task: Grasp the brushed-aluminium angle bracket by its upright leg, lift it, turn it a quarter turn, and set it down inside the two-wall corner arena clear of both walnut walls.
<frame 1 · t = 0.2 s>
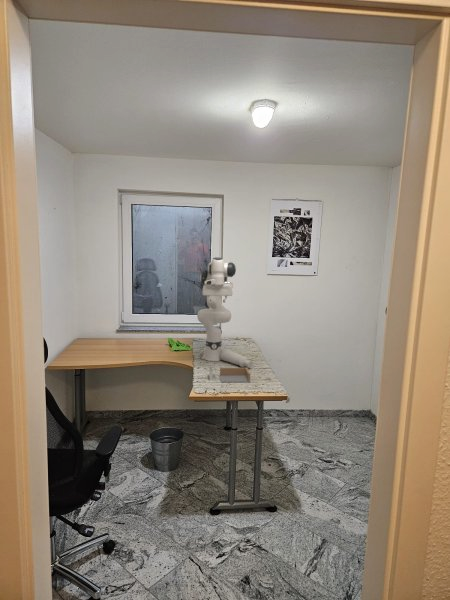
hand: (217, 302, 243), 47 cm above the table, fingers open, 8 cm apart
arena: (234, 379, 231), on the table
bracket: (212, 378, 233), on the table
bottle: (235, 364, 264), on the table, touching arm
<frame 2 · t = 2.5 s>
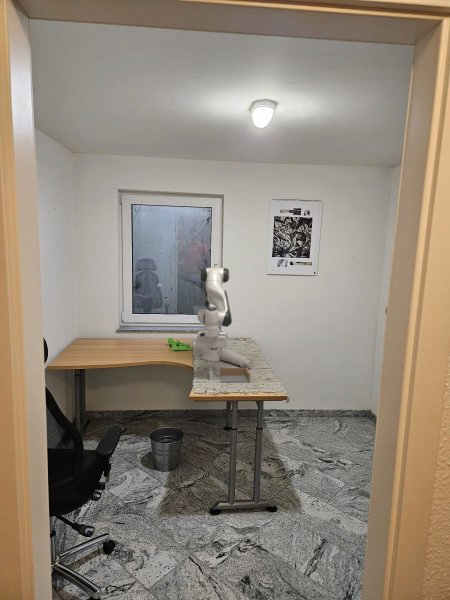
hand: (211, 354, 231), 16 cm above the table, fingers open, 8 cm apart
nothing on the table moved.
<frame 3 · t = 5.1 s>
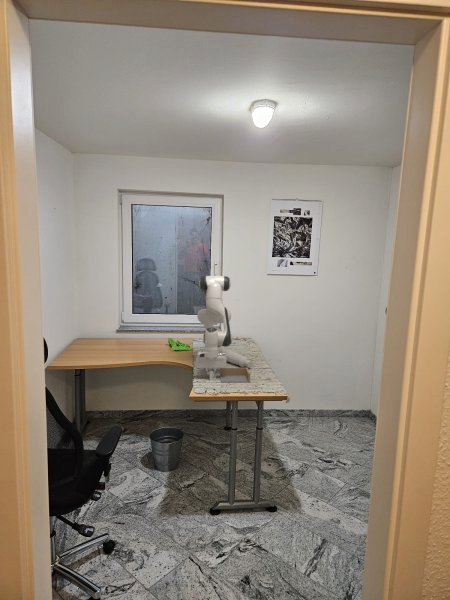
hand: (210, 374, 232), 2 cm above the table, fingers closed on bracket, 2 cm apart
bracket: (212, 378, 233), on the table, touching gripper
everything else where it was.
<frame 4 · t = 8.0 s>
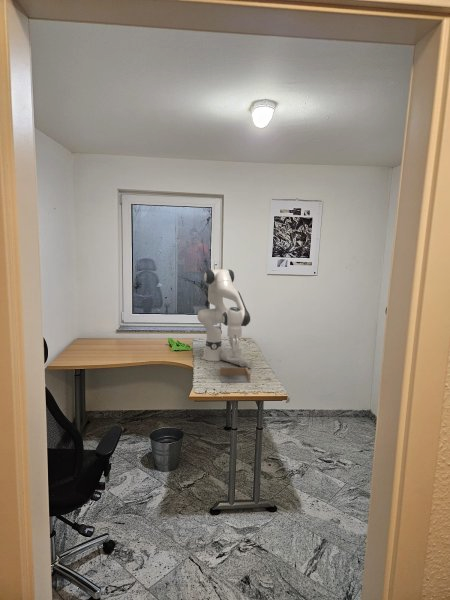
hand: (233, 354, 228), 16 cm above the table, fingers closed on bracket
bracket: (233, 359, 227), point 14 cm above the table, touching gripper
everything else where it was.
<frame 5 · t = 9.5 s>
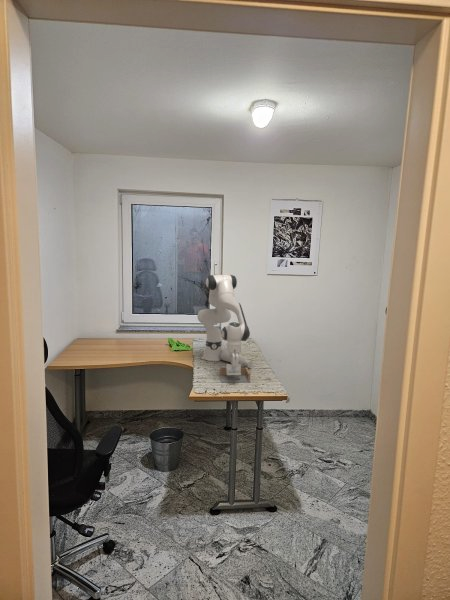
hand: (233, 369, 229), 7 cm above the table, fingers closed on bracket
bracket: (233, 374, 228), point 4 cm above the table, touching gripper
everything else where it was.
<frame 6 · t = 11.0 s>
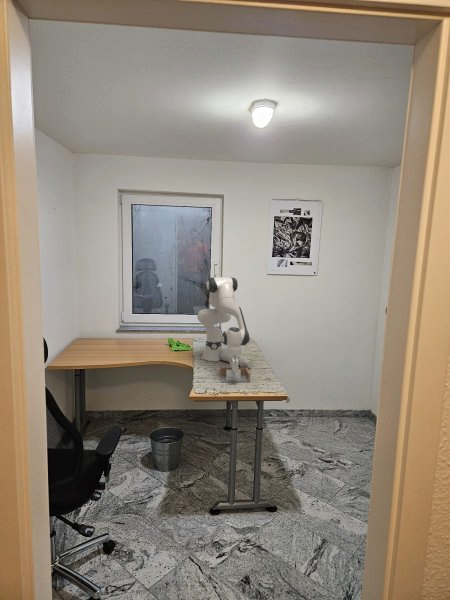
hand: (233, 374, 229), 3 cm above the table, fingers open, 4 cm apart
bracket: (233, 379, 229), point 1 cm above the table, touching arena
everything else where it was.
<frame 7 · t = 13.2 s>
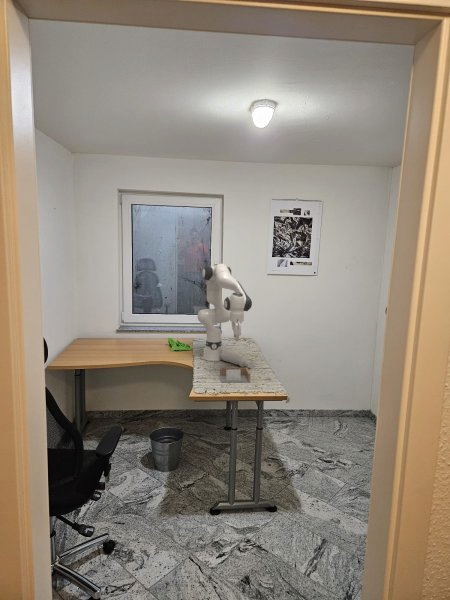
hand: (236, 339, 232), 25 cm above the table, fingers open, 8 cm apart
nothing on the table moved.
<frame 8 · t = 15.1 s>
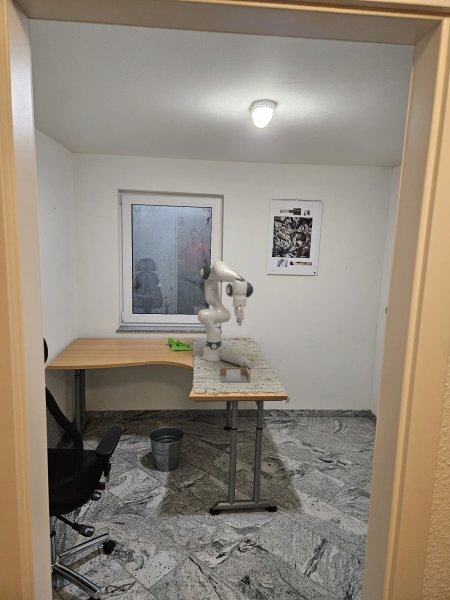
hand: (238, 324, 236), 34 cm above the table, fingers open, 8 cm apart
nothing on the table moved.
at the end: bracket inside the target area on the arena (0.7 cm from its centre), point 0.6 cm above the arena's base; bracket tilted 0°; the gripper is holding nothing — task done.
